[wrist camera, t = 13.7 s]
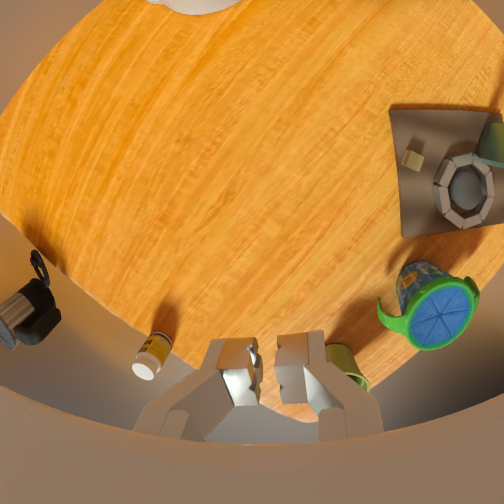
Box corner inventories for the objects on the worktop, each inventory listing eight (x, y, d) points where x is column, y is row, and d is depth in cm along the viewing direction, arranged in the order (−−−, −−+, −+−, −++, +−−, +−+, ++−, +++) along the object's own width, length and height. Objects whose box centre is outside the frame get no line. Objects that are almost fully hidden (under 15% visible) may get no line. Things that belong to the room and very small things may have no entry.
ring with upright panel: (490, 122, 26) (556, 127, 13) (504, 208, 30) (562, 240, 18) (421, 136, 30) (484, 141, 17) (440, 231, 34) (494, 276, 21)
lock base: (388, 110, 30) (396, 108, 27) (498, 114, 26) (509, 114, 24) (401, 235, 36) (408, 243, 33) (502, 220, 32) (512, 226, 29)
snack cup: (366, 315, 41) (381, 359, 32) (370, 253, 38) (391, 288, 28) (451, 304, 39) (477, 340, 29) (461, 245, 35) (496, 274, 26)
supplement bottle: (156, 326, 48) (136, 356, 40) (177, 342, 48) (160, 374, 41) (145, 339, 49) (126, 369, 42) (165, 354, 50) (149, 385, 42)
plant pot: (370, 358, 45) (379, 394, 37) (324, 381, 48) (327, 418, 40) (344, 325, 43) (352, 363, 35) (296, 352, 46) (294, 391, 38)
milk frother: (39, 312, 53) (1, 347, 40) (15, 251, 47) (-31, 279, 34) (76, 315, 51) (34, 358, 37) (49, 244, 45) (-4, 278, 31)
